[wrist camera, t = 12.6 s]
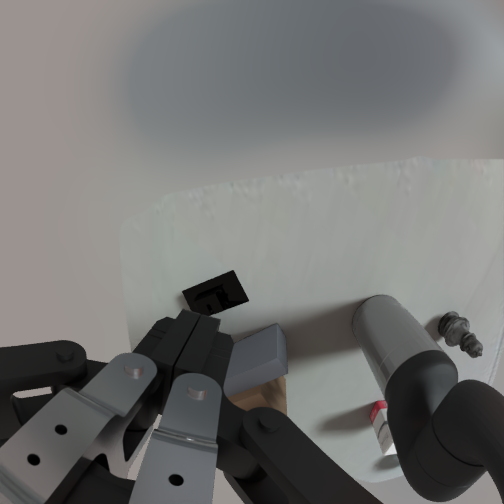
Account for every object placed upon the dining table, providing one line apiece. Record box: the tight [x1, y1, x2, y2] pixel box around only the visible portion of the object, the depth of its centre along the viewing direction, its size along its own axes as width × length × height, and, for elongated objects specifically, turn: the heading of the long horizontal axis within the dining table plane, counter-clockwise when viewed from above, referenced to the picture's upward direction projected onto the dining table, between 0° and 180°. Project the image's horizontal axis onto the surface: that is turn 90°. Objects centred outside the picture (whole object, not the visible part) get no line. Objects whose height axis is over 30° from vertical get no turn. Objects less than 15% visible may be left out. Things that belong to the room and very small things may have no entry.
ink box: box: [370, 401, 397, 455], centre depth 43 cm, size 8×5×12 cm, turn 84°
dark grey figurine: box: [438, 311, 483, 358], centre depth 38 cm, size 6×6×12 cm
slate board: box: [223, 323, 288, 397], centre depth 42 cm, size 3×20×10 cm, turn 121°
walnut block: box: [227, 376, 287, 416], centre depth 42 cm, size 8×12×12 cm, turn 121°
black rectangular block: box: [182, 270, 249, 316], centre depth 43 cm, size 12×7×5 cm, turn 114°
